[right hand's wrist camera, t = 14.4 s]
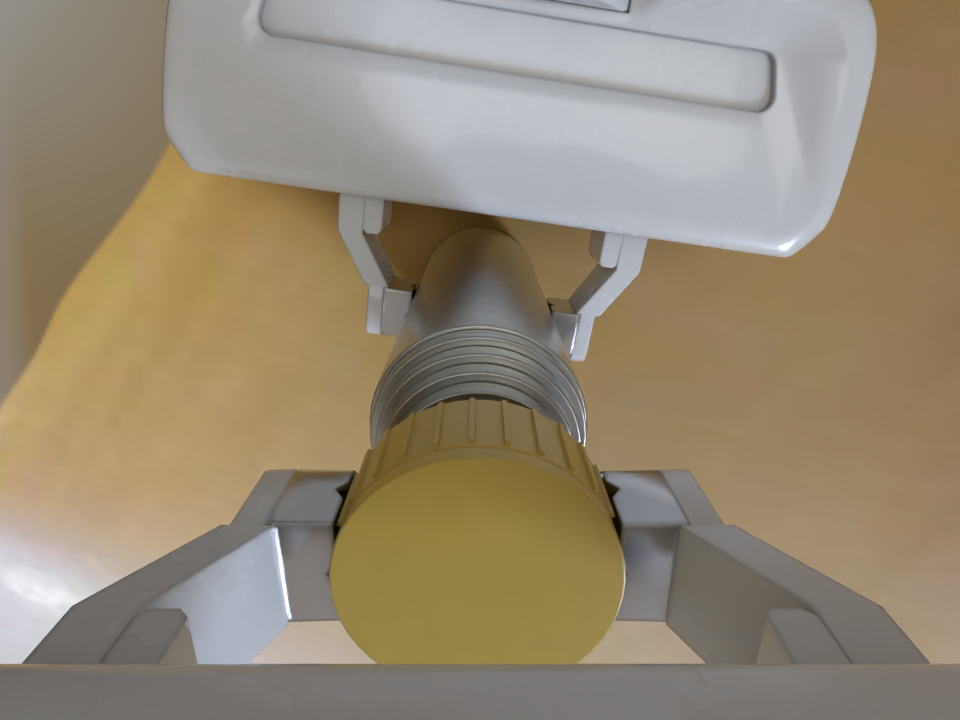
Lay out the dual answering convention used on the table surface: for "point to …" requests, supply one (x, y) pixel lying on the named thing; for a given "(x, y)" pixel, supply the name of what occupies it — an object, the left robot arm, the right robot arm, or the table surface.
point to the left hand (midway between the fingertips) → (476, 343)
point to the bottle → (478, 339)
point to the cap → (477, 542)
